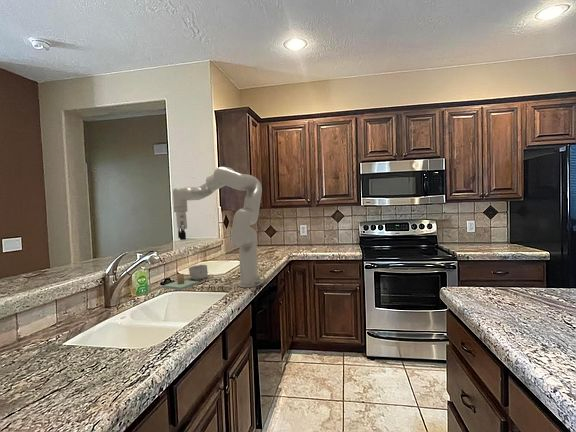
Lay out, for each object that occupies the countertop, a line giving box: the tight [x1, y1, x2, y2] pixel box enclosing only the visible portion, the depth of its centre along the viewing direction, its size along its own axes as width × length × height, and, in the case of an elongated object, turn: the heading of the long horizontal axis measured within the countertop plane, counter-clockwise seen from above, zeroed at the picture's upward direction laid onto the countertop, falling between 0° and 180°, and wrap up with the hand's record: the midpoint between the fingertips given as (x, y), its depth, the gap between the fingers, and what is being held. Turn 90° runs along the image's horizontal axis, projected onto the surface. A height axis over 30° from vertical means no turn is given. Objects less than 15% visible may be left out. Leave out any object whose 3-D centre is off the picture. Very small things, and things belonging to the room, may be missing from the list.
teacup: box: [188, 264, 209, 281], centre depth 201 cm, size 14×11×8 cm
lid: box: [162, 273, 199, 289], centre depth 185 cm, size 13×13×6 cm
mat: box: [157, 281, 204, 291], centre depth 186 cm, size 17×17×1 cm
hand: (182, 238), depth 193 cm, fingers open, 9 cm apart
